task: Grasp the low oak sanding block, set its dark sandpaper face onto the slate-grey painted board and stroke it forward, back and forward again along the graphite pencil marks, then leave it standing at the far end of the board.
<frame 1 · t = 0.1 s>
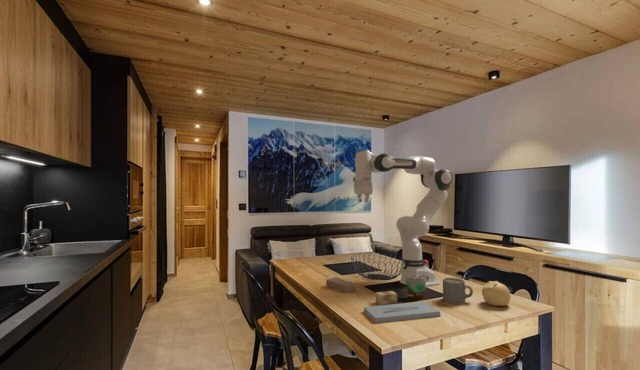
hand: (363, 202, 181), 48 cm above the table, fingers open, 8 cm apart
brick: (341, 289, 176), on the table
board: (401, 313, 139), on the table
pale yellow rounded lump: (496, 304, 151), on the table
coffee mug: (457, 301, 155), on the table
food container: (419, 297, 161), on the table
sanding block: (386, 303, 152), on the table
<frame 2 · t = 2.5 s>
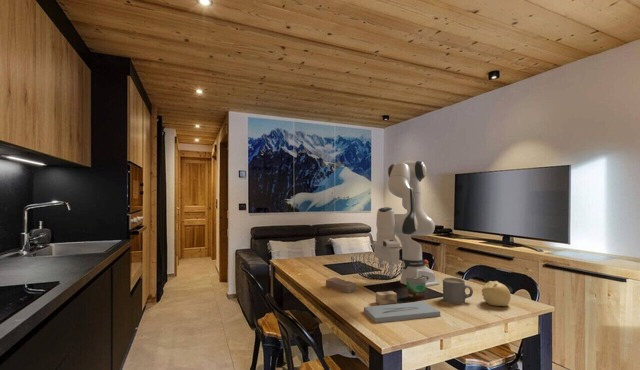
hand: (385, 269, 153), 16 cm above the table, fingers open, 8 cm apart
nothing on the table moved.
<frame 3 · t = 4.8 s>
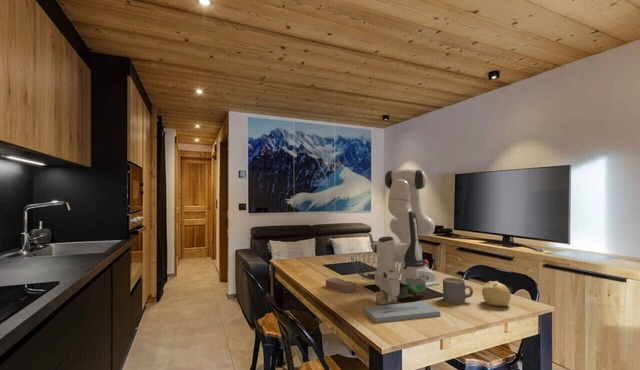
hand: (386, 299, 153), 2 cm above the table, fingers closed on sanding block, 4 cm apart
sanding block: (386, 303, 152), on the table, touching gripper
everything else where it was.
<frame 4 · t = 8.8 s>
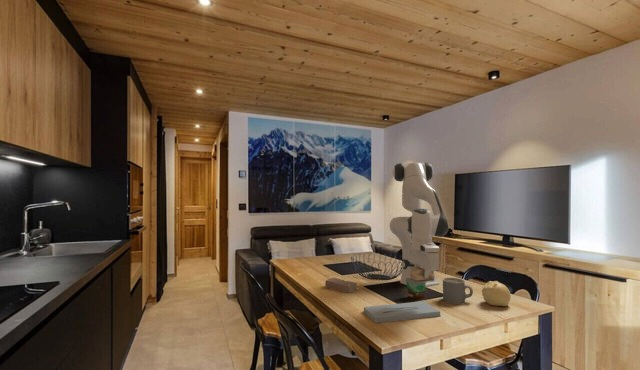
hand: (422, 276, 142), 16 cm above the table, fingers closed on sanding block, 4 cm apart
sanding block: (422, 279, 142), point 14 cm above the table, touching gripper
everything else where it was.
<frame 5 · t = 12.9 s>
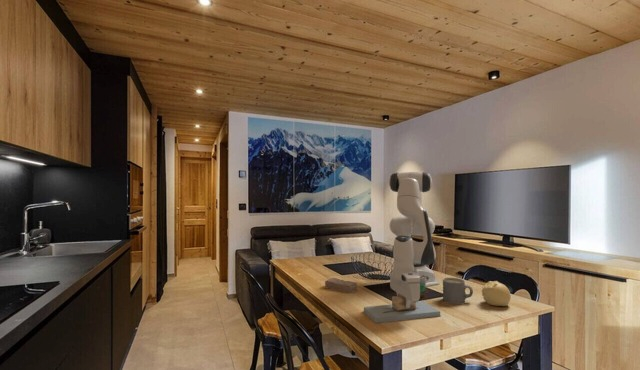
hand: (403, 305, 139), 4 cm above the table, fingers closed on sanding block, 4 cm apart
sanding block: (403, 308, 139), point 2 cm above the table, touching gripper
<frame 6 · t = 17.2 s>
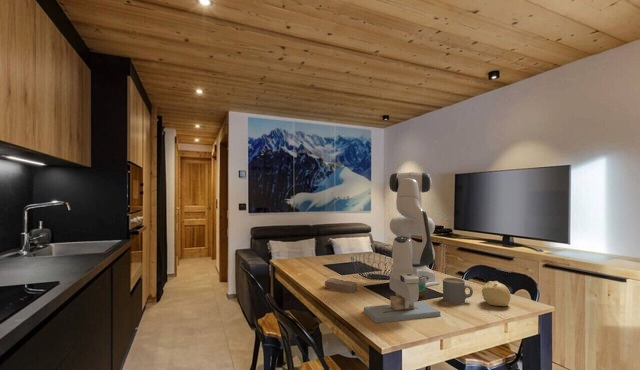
hand: (403, 305, 140), 3 cm above the table, fingers closed on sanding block, 4 cm apart
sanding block: (402, 308, 139), point 2 cm above the table, touching gripper
when the fingers open (5 cm above the table, at t = 21.2 s): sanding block drops 1 cm, resting on board.
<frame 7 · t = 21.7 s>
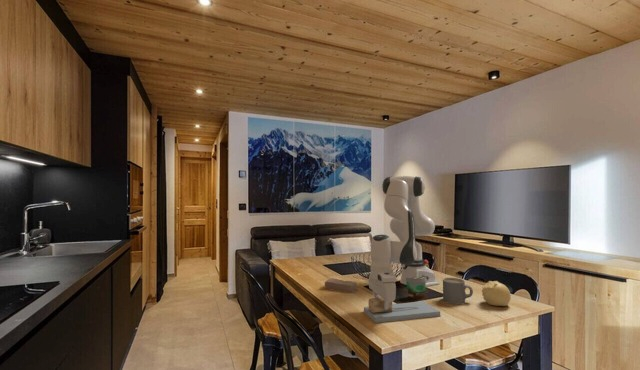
hand: (381, 305, 137), 5 cm above the table, fingers open, 8 cm apart
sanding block: (380, 311, 137), point 2 cm above the table, touching board
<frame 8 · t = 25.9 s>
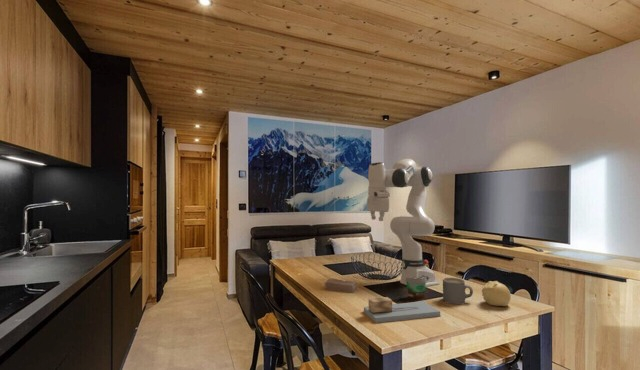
hand: (377, 220, 163), 39 cm above the table, fingers open, 8 cm apart
at the end: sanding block inside the target area (0.1 cm from its centre), point 2.0 cm above the table; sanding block tilted 0°; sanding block touching board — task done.
